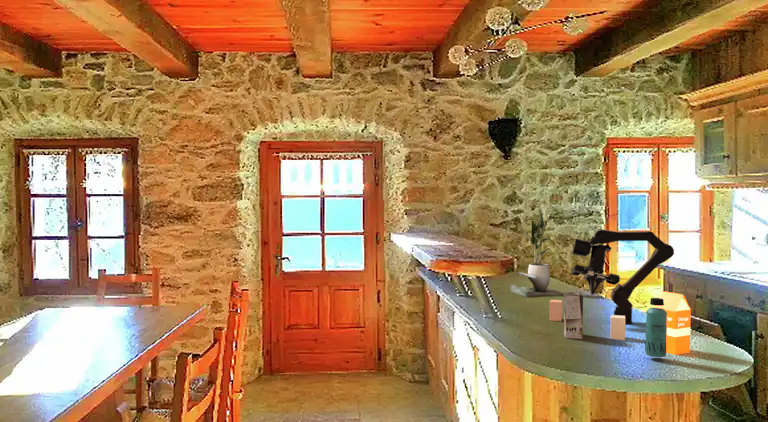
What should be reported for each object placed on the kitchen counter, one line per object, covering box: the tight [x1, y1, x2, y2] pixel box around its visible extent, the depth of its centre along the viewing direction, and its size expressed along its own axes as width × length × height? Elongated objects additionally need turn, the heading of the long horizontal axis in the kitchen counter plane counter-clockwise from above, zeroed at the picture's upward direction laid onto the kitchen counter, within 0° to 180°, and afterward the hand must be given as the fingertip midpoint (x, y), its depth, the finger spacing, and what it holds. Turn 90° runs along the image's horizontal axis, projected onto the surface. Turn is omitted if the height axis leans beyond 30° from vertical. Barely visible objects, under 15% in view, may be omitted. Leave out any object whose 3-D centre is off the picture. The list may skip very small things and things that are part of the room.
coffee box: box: [563, 291, 584, 340], centre depth 241 cm, size 9×6×16 cm
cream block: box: [609, 314, 626, 341], centre depth 238 cm, size 5×5×8 cm
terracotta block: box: [548, 299, 563, 322], centre depth 271 cm, size 5×5×8 cm
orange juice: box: [653, 290, 692, 356], centre depth 219 cm, size 8×9×20 cm
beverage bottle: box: [644, 297, 668, 358], centre depth 207 cm, size 6×7×20 cm
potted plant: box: [509, 208, 564, 298], centre depth 339 cm, size 22×19×45 cm
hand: (592, 294), depth 260 cm, fingers closed
